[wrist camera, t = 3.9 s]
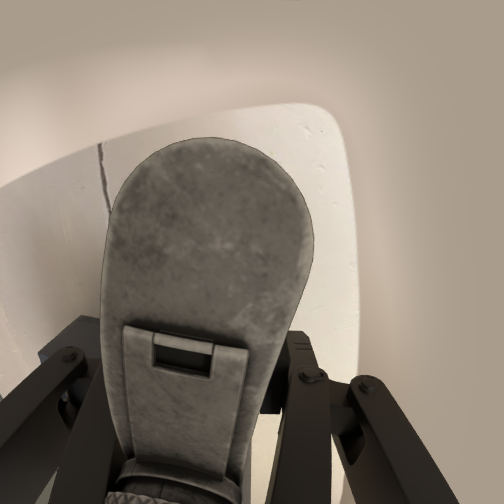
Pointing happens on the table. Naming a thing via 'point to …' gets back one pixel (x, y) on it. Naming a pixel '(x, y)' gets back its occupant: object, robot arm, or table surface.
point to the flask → (197, 314)
